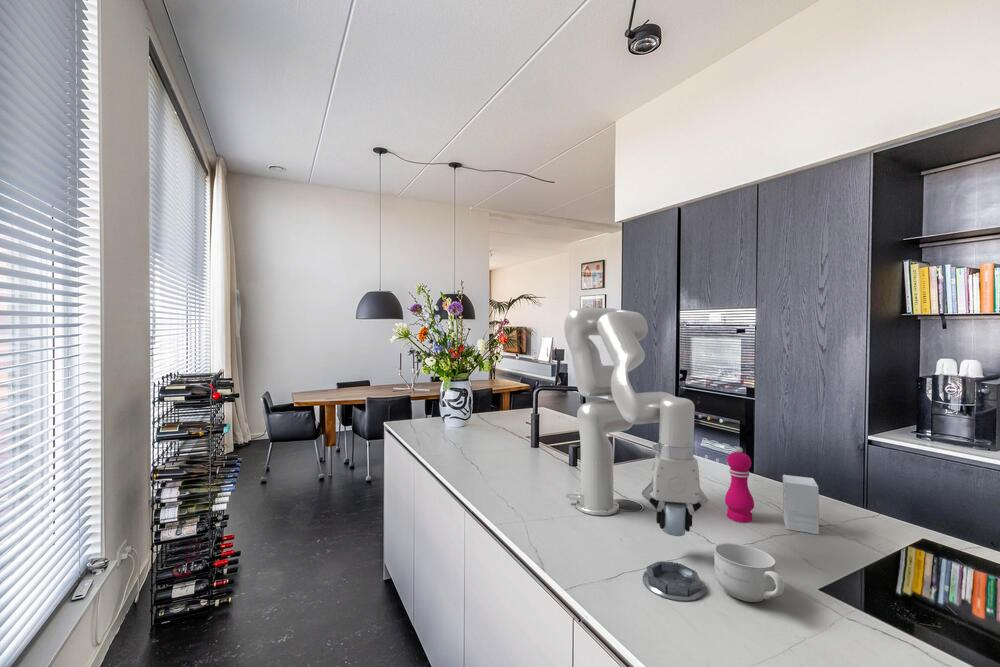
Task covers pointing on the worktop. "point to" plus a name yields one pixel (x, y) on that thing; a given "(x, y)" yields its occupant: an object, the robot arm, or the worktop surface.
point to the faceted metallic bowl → (673, 581)
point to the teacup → (746, 572)
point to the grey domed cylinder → (674, 518)
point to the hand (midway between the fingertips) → (673, 526)
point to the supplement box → (801, 504)
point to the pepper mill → (739, 488)
